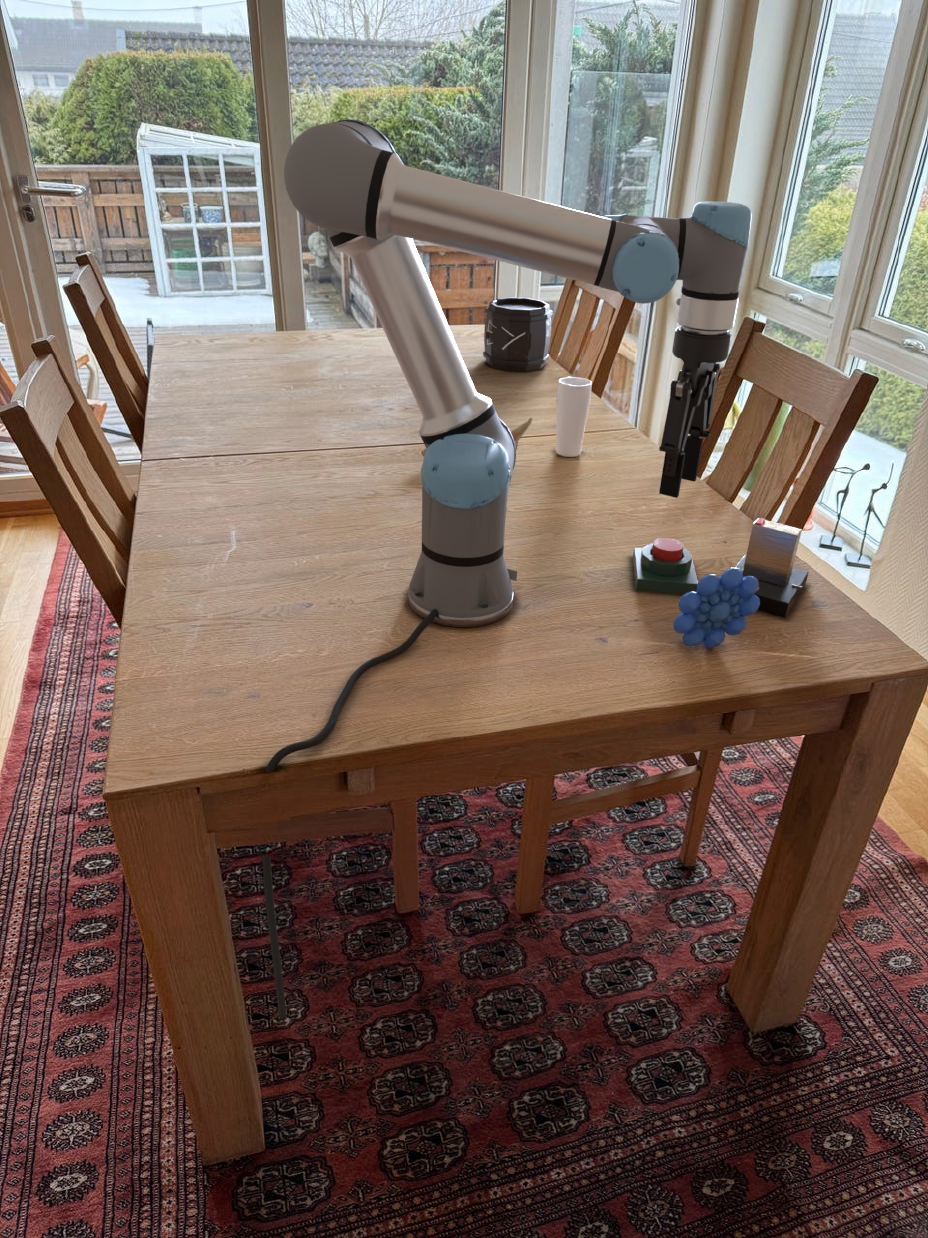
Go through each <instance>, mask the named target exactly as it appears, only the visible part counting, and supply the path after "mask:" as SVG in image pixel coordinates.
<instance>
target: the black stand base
mask: <svg viewBox="0 0 928 1238" xmlns="http://www.w3.org/2000/svg"><path fill="white" fill-rule="evenodd" d="M745 559H746V554H744V556H742V558H741V559H740V560H739V562H738V563H737V564H736V565H735V567H730V569H731V568H738V569H740V570H741V571H742V573H743V568H744V564H745ZM744 577H747V576H744V575H743V578H744ZM808 577H809V571H806V570H802V569H799V568H795V567H793V568H792V572H791V576H790V580H789V582H788V583H787V584H786V586H785V587H783V586H780V585H776V584H773V583H769V582H766V581H762V580H758V579H757V580H758V583H759V586H758V589H757V592H756V593H755V594H754V595H756V596H757V597H758V598H759V600H760V605H759V608H758V610H757V611H759V612H761V613H766V614H769V615H773V616H777V617H779V618H783V619H785V618H786V617H787V616H788V614H789V613H790V611H791V609H792V607H794V605H795V603H796V601H797V600H798V598H799V597H800V595H801V593H802V592H803V590H804V588H805V587H806V585H807V581H808Z"/></svg>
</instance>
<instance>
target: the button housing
mask: <svg viewBox="0 0 928 1238" xmlns="http://www.w3.org/2000/svg"><path fill="white" fill-rule="evenodd" d="M652 547H653V543H649V544H647V545H645V546H644V547H633V553H632V565H633V577H634V585H635V591H638V592H651V593H662V594H674V595H684V594H686V593H689V592H692V591H693V592H697V584H698V578H697V574H696V569H695V565H694V561H693V560H694V559H693V557H692V552H691V551H689V550H688V549H686V548H685V547H684V548H683V553H682V558H681V560H678V561H663V560H660V559H657V558H655V557H653V556H652Z"/></svg>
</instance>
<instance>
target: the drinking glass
mask: <svg viewBox="0 0 928 1238" xmlns="http://www.w3.org/2000/svg"><path fill="white" fill-rule="evenodd" d="M592 385H593V383H592V381H591V380H590V379H588V378H585V377H580V376H565V377H561V378H559V379H558V383H557V388H556V399H555V400H556V401H555V412H556V413H555V448H554V451H555V453H556V454H557V455H559V456H561V457H566V458H575V457H578V456H580V455H581V453H582V449H583V441H584V436H585V430H586V426H587V421H588V416H589V410H590V405H591V398H592V397H591V396H592V387H593V386H592Z"/></svg>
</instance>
